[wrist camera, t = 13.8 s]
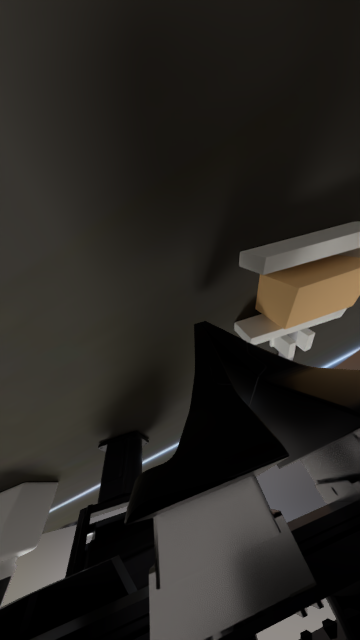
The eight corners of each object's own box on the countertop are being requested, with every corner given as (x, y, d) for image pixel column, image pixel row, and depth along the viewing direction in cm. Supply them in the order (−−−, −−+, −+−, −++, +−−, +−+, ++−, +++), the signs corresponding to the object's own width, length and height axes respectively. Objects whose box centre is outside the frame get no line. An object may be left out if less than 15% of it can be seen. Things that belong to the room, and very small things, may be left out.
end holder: (313, 304, 14) (341, 316, 12) (234, 329, 14) (249, 346, 12) (353, 221, 10) (405, 219, 8) (239, 251, 9) (266, 257, 7)
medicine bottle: (-11, 496, 23) (-119, 682, 14) (25, 481, 23) (-59, 658, 14) (29, 494, 28) (-32, 635, 18) (60, 481, 28) (14, 617, 18)
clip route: (281, 368, 22) (294, 382, 20) (256, 377, 21) (267, 392, 19) (309, 306, 15) (335, 318, 13) (273, 318, 14) (293, 332, 12)
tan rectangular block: (308, 290, 13) (352, 305, 11) (254, 308, 13) (285, 329, 10) (322, 253, 11) (382, 260, 8) (258, 273, 11) (299, 288, 8)
